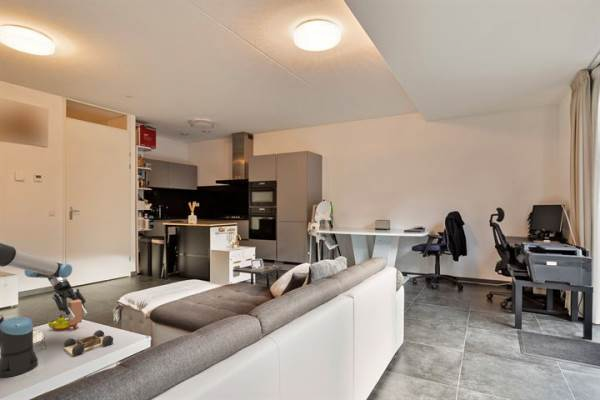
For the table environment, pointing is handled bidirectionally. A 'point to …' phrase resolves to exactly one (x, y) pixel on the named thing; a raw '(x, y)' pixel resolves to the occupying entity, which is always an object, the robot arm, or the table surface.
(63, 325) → the toy boat
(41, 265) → the robot arm
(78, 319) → the pink rectangular block
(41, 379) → the table surface
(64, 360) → the table surface
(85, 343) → the chassis
